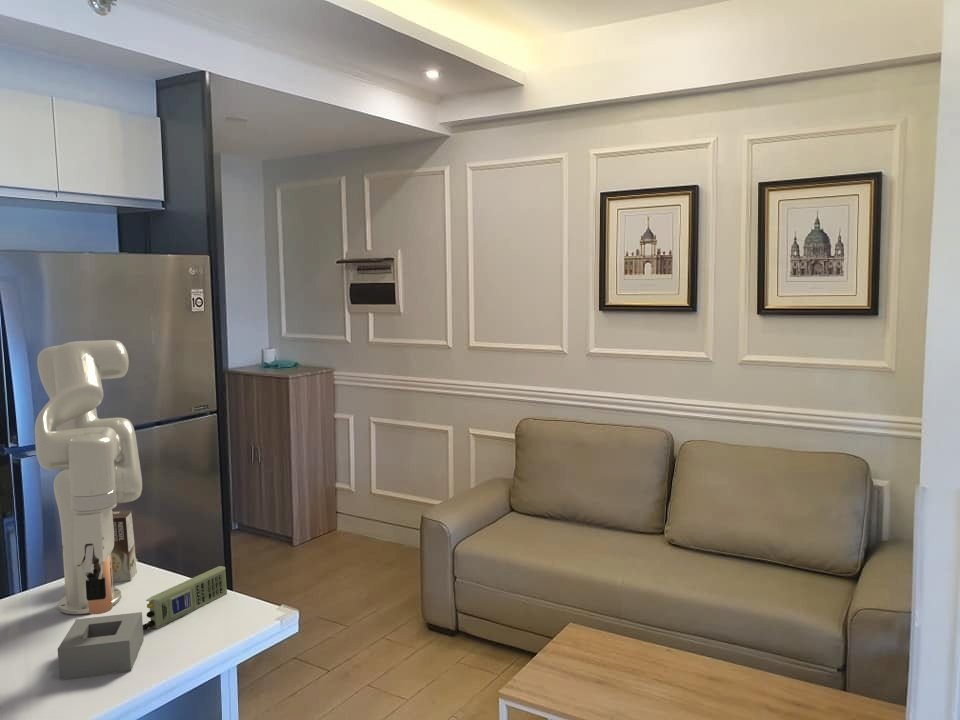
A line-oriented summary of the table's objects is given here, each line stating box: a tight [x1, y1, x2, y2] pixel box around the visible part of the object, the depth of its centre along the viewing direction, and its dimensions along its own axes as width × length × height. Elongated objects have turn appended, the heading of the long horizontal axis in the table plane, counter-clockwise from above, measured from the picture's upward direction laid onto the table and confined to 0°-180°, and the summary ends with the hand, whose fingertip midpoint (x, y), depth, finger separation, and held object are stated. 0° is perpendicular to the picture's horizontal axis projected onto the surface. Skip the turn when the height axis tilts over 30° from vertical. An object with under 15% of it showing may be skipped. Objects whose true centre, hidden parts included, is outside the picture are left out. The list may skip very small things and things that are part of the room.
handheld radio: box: [143, 565, 228, 632], centre depth 158 cm, size 7×3×25 cm
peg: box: [88, 556, 113, 615], centre depth 137 cm, size 4×4×12 cm
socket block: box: [57, 611, 144, 681], centre depth 139 cm, size 12×12×6 cm
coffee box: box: [111, 509, 138, 583], centre depth 177 cm, size 9×6×16 cm
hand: (99, 593), depth 137 cm, fingers closed on peg, 4 cm apart
